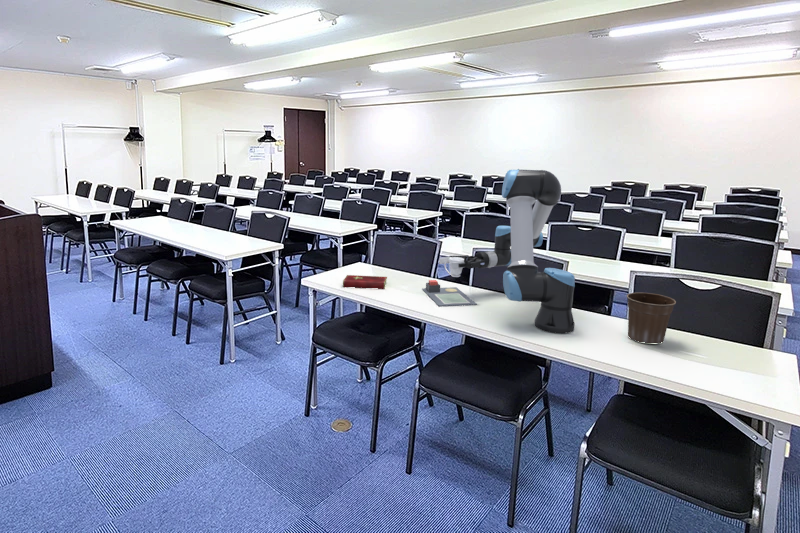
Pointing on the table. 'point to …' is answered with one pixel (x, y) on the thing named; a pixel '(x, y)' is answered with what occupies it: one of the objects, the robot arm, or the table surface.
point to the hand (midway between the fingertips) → (445, 263)
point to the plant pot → (648, 316)
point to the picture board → (450, 297)
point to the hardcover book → (364, 281)
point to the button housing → (432, 288)
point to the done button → (433, 282)
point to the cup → (456, 271)
